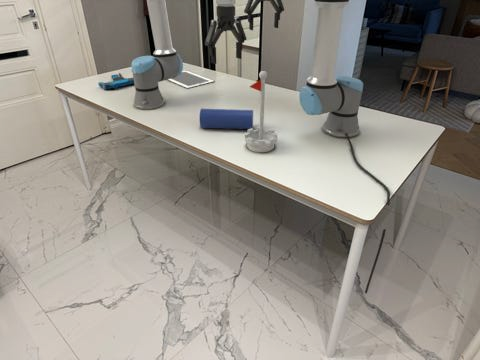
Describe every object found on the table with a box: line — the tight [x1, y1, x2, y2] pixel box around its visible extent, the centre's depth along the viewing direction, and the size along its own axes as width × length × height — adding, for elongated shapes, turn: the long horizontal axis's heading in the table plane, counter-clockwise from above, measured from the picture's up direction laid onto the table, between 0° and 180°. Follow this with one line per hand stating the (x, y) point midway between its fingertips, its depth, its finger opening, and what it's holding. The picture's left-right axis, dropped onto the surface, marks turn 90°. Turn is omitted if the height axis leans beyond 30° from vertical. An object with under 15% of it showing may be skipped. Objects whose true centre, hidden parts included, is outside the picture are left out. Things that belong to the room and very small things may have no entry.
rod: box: [199, 107, 254, 130], centre depth 150 cm, size 23×8×8 cm, turn 85°
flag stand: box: [244, 70, 278, 153], centre depth 129 cm, size 13×13×30 cm
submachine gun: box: [97, 74, 134, 90], centre depth 209 cm, size 34×4×25 cm
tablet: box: [167, 70, 215, 89], centre depth 214 cm, size 32×20×1 cm, turn 41°
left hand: (226, 60), depth 145 cm, fingers open, 13 cm apart
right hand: (263, 28), depth 163 cm, fingers open, 13 cm apart
